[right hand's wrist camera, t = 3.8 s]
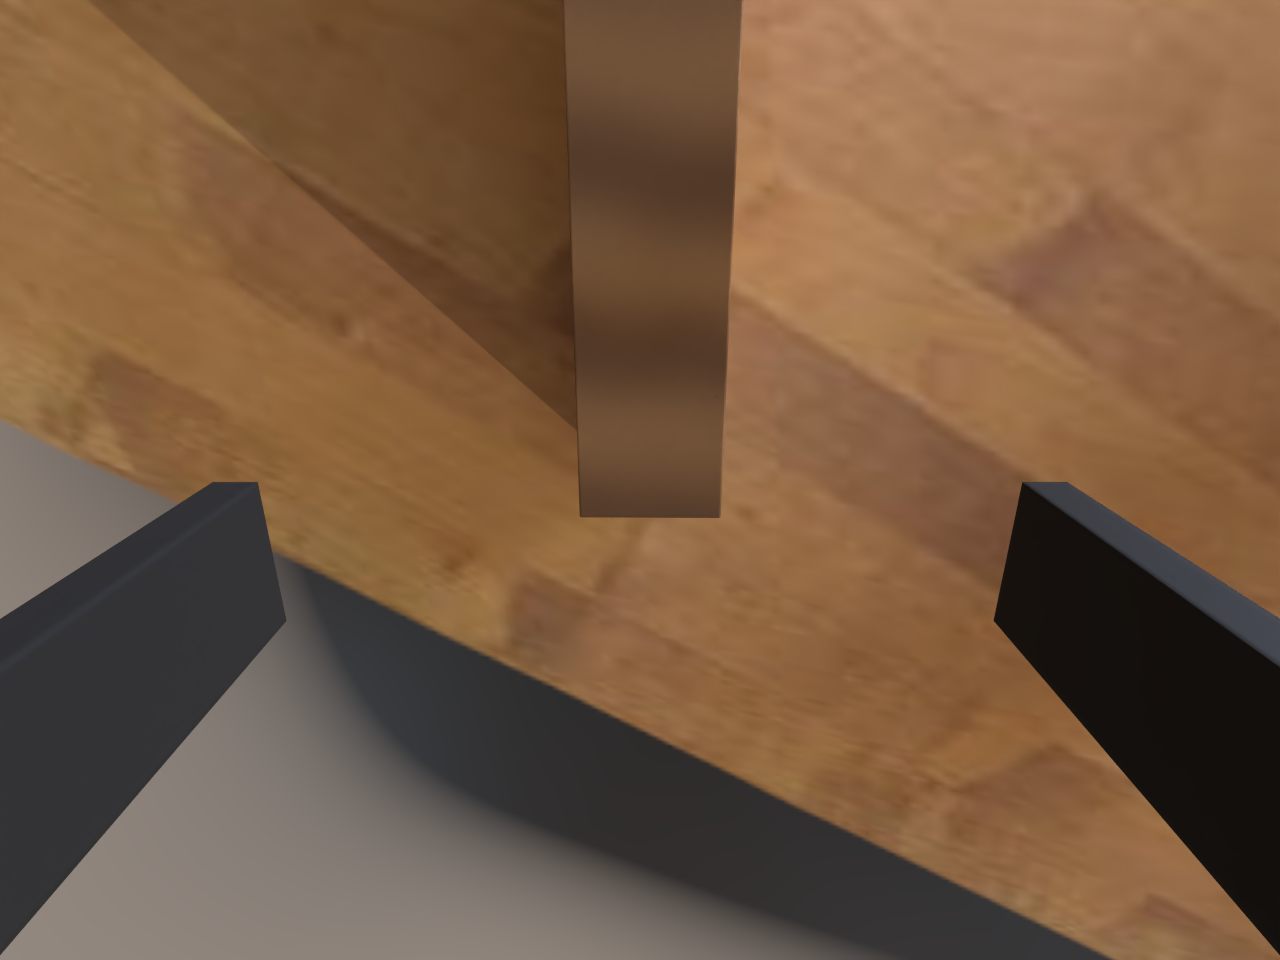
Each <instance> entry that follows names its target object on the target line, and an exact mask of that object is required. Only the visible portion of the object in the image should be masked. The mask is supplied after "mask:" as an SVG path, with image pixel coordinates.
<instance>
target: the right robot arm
mask: <svg viewBox="0 0 1280 960" xmlns="http://www.w3.org/2000/svg"><path fill="white" fill-rule="evenodd" d="M285 622H286V617H285V612H284V607H283V602H282V597H281V593H280V588H279V583H278V578H277V573H276V569H275V564H274V559H273V554H272V549H271V544H270V540H269V535H268V530H267V525H266V520H265V516H264V511H263V506H262V501H261V496H260V492H259V487H258V482H212V483H211V484H209V485H208V486H206V487H205V488H203V489H202V490H200V491H198V492H197V493H195V494H194V495H192V496H191V497H189V498H188V499H186V500H184V501H183V502H181V503H180V504H178V505H177V506H175V507H174V508H172V509H170V510H169V511H167V512H166V513H164V514H163V515H161V516H160V517H158V518H157V519H155V520H153V521H152V522H150V523H149V524H147V525H146V526H144V527H143V528H141V529H139V530H138V531H136V532H135V533H133V534H132V535H130V536H129V537H127V538H125V539H124V540H122V541H121V542H119V543H118V544H116V545H115V546H113V547H111V548H110V549H108V550H107V551H105V552H104V553H102V554H101V555H99V556H98V557H96V558H94V559H93V560H91V561H90V562H88V563H87V564H85V565H83V566H82V567H80V568H79V569H77V570H76V571H74V572H73V573H71V574H70V575H68V576H66V577H65V578H63V579H62V580H60V581H59V582H57V583H55V584H54V585H52V586H51V587H49V588H48V589H46V590H45V591H43V592H41V593H40V594H38V595H37V596H35V597H34V598H32V599H31V600H29V601H28V602H26V603H24V604H23V605H21V606H20V607H18V608H17V609H15V610H14V611H12V612H10V613H9V614H7V615H6V616H4V617H3V618H1V619H0V955H1V954H2V952H3V951H4V950H5V949H6V948H7V947H8V945H9V944H10V943H11V942H12V941H13V940H14V938H15V937H16V936H17V935H18V934H19V932H20V931H21V930H22V929H23V928H24V927H25V925H26V924H27V923H28V922H29V921H30V920H31V918H32V917H33V916H34V915H35V914H36V913H37V911H38V910H39V909H40V908H41V907H42V906H43V904H44V903H45V902H46V901H47V900H48V899H49V897H50V896H51V895H52V894H53V893H54V892H55V890H56V889H57V888H58V887H59V886H60V885H61V883H62V882H63V881H64V880H65V879H66V878H67V876H68V875H69V874H70V873H71V872H72V871H73V869H74V868H75V867H76V866H77V865H78V864H79V862H80V861H81V860H82V859H83V858H84V856H85V855H86V854H87V853H88V852H89V851H90V850H91V848H92V847H93V846H94V845H95V844H96V843H97V841H98V840H99V839H100V838H101V837H102V836H103V834H104V833H105V832H106V831H107V830H108V829H109V827H110V826H111V825H112V824H113V823H114V821H115V820H116V819H117V818H118V817H119V816H120V815H121V813H122V812H123V811H124V810H125V809H126V807H127V806H128V805H129V804H130V803H131V802H132V800H133V799H134V798H135V797H136V796H137V795H138V793H139V792H140V791H141V790H142V789H143V788H144V786H145V785H146V784H147V783H148V782H149V781H150V779H151V778H152V777H153V776H154V775H155V774H156V772H157V771H158V770H159V769H160V768H161V767H162V765H163V764H164V763H165V762H166V761H167V759H168V758H169V757H170V756H171V755H172V754H173V753H174V751H175V750H176V749H177V748H178V747H179V746H180V744H181V743H182V742H183V741H184V740H185V739H186V737H187V736H188V735H189V734H190V733H191V732H192V730H193V729H194V728H195V727H196V726H197V725H198V723H199V722H200V721H201V720H202V719H203V718H204V716H205V715H206V714H207V713H208V712H209V710H210V709H211V708H212V707H213V706H214V705H215V703H216V702H217V701H218V700H219V699H220V698H221V696H222V695H223V694H224V693H225V692H226V691H227V689H228V688H229V687H230V686H231V685H232V684H233V682H234V681H235V680H236V679H237V678H238V677H239V675H240V674H241V673H242V672H243V671H244V670H245V668H246V667H247V666H248V665H249V664H250V663H251V661H252V660H253V659H254V658H255V657H256V656H257V654H258V653H259V652H260V651H261V650H262V649H263V647H264V646H265V645H266V644H267V643H268V642H269V640H270V639H271V638H272V637H273V636H274V634H275V633H276V632H277V631H278V630H279V629H280V627H281V626H282V625H283V624H284V623H285ZM994 622H995V623H996V624H997V625H998V626H999V628H1000V629H1001V630H1002V631H1003V632H1004V633H1005V635H1006V636H1007V637H1008V638H1009V639H1010V640H1011V642H1012V643H1013V644H1014V645H1015V646H1016V647H1017V649H1018V650H1019V651H1020V652H1021V653H1022V654H1023V656H1024V657H1025V658H1026V659H1027V660H1028V661H1029V663H1030V664H1031V665H1032V666H1033V667H1034V668H1035V670H1036V671H1037V672H1038V673H1039V674H1040V675H1041V677H1042V678H1043V679H1044V680H1045V681H1046V682H1047V684H1048V685H1049V686H1050V687H1051V688H1052V689H1053V691H1054V692H1055V693H1056V694H1057V695H1058V696H1059V698H1060V699H1061V700H1062V701H1063V702H1064V703H1065V705H1066V706H1067V707H1068V708H1069V709H1070V710H1071V712H1072V713H1073V714H1074V715H1075V716H1076V718H1077V719H1078V720H1079V721H1080V722H1081V723H1082V725H1083V726H1084V727H1085V728H1086V729H1087V730H1088V732H1089V733H1090V734H1091V735H1092V736H1093V737H1094V739H1095V740H1096V741H1097V742H1098V743H1099V744H1100V746H1101V747H1102V748H1103V749H1104V750H1105V751H1106V753H1107V754H1108V755H1109V756H1110V757H1111V758H1112V760H1113V761H1114V762H1115V763H1116V764H1117V765H1118V767H1119V768H1120V769H1121V770H1122V771H1123V772H1124V774H1125V775H1126V776H1127V777H1128V778H1129V779H1130V781H1131V782H1132V783H1133V784H1134V785H1135V786H1136V788H1137V789H1138V790H1139V791H1140V792H1141V793H1142V795H1143V796H1144V797H1145V798H1146V799H1147V800H1148V802H1149V803H1150V804H1151V805H1152V806H1153V807H1154V809H1155V810H1156V811H1157V812H1158V813H1159V815H1160V816H1161V817H1162V818H1163V819H1164V820H1165V822H1166V823H1167V824H1168V825H1169V826H1170V827H1171V829H1172V830H1173V831H1174V832H1175V833H1176V834H1177V836H1178V837H1179V838H1180V839H1181V840H1182V841H1183V843H1184V844H1185V845H1186V846H1187V847H1188V848H1189V850H1190V851H1191V852H1192V853H1193V854H1194V855H1195V857H1196V858H1197V859H1198V860H1199V861H1200V862H1201V864H1202V865H1203V866H1204V867H1205V868H1206V869H1207V871H1208V872H1209V873H1210V874H1211V875H1212V876H1213V878H1214V879H1215V880H1216V881H1217V882H1218V883H1219V885H1220V886H1221V887H1222V888H1223V889H1224V890H1225V892H1226V893H1227V894H1228V895H1229V896H1230V897H1231V899H1232V900H1233V901H1234V902H1235V903H1236V904H1237V906H1238V907H1239V908H1240V909H1241V910H1242V911H1243V913H1244V914H1245V915H1246V916H1247V917H1248V919H1249V920H1250V921H1251V922H1252V923H1253V924H1254V926H1255V927H1256V928H1257V929H1258V930H1259V931H1260V933H1261V934H1262V935H1263V936H1264V937H1265V938H1266V940H1267V941H1268V942H1269V943H1270V944H1271V945H1272V947H1273V948H1274V949H1275V950H1276V951H1277V952H1278V954H1279V955H1280V619H1279V618H1277V617H1276V616H1274V615H1273V614H1271V613H1270V612H1268V611H1266V610H1265V609H1263V608H1262V607H1260V606H1259V605H1257V604H1256V603H1254V602H1252V601H1251V600H1249V599H1248V598H1246V597H1245V596H1243V595H1242V594H1240V593H1239V592H1237V591H1235V590H1234V589H1232V588H1231V587H1229V586H1228V585H1226V584H1225V583H1223V582H1221V581H1220V580H1218V579H1217V578H1215V577H1214V576H1212V575H1211V574H1209V573H1207V572H1206V571H1204V570H1203V569H1201V568H1200V567H1198V566H1197V565H1195V564H1193V563H1192V562H1190V561H1189V560H1187V559H1186V558H1184V557H1183V556H1181V555H1179V554H1178V553H1176V552H1175V551H1173V550H1172V549H1170V548H1169V547H1167V546H1165V545H1164V544H1162V543H1161V542H1159V541H1158V540H1156V539H1155V538H1153V537H1151V536H1150V535H1148V534H1147V533H1145V532H1144V531H1142V530H1141V529H1139V528H1137V527H1136V526H1134V525H1133V524H1131V523H1130V522H1128V521H1127V520H1125V519H1123V518H1122V517H1120V516H1119V515H1117V514H1116V513H1114V512H1113V511H1111V510H1110V509H1108V508H1106V507H1105V506H1103V505H1102V504H1100V503H1099V502H1097V501H1096V500H1094V499H1092V498H1091V497H1089V496H1088V495H1086V494H1085V493H1083V492H1082V491H1080V490H1078V489H1077V488H1075V487H1074V486H1072V485H1071V484H1069V483H1068V482H1022V487H1021V492H1020V496H1019V501H1018V506H1017V511H1016V516H1015V520H1014V525H1013V530H1012V535H1011V540H1010V544H1009V549H1008V554H1007V559H1006V564H1005V569H1004V573H1003V578H1002V583H1001V588H1000V593H999V597H998V602H997V607H996V612H995V617H994Z"/></svg>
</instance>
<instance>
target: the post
mask: <svg viewBox="0 0 1280 960" xmlns="http://www.w3.org/2000/svg"><path fill="white" fill-rule="evenodd" d="M742 22H743V0H563V24H564V54H565V84H566V114H567V144H568V174H569V205H570V235H571V265H572V295H573V325H574V355H575V385H576V415H577V445H578V475H579V505H580V517H659V518H720V515H721V492H722V470H723V447H724V425H725V403H726V380H727V358H728V335H729V313H730V291H731V268H732V246H733V223H734V201H735V178H736V156H737V134H738V111H739V89H740V66H741V44H742Z"/></svg>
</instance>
